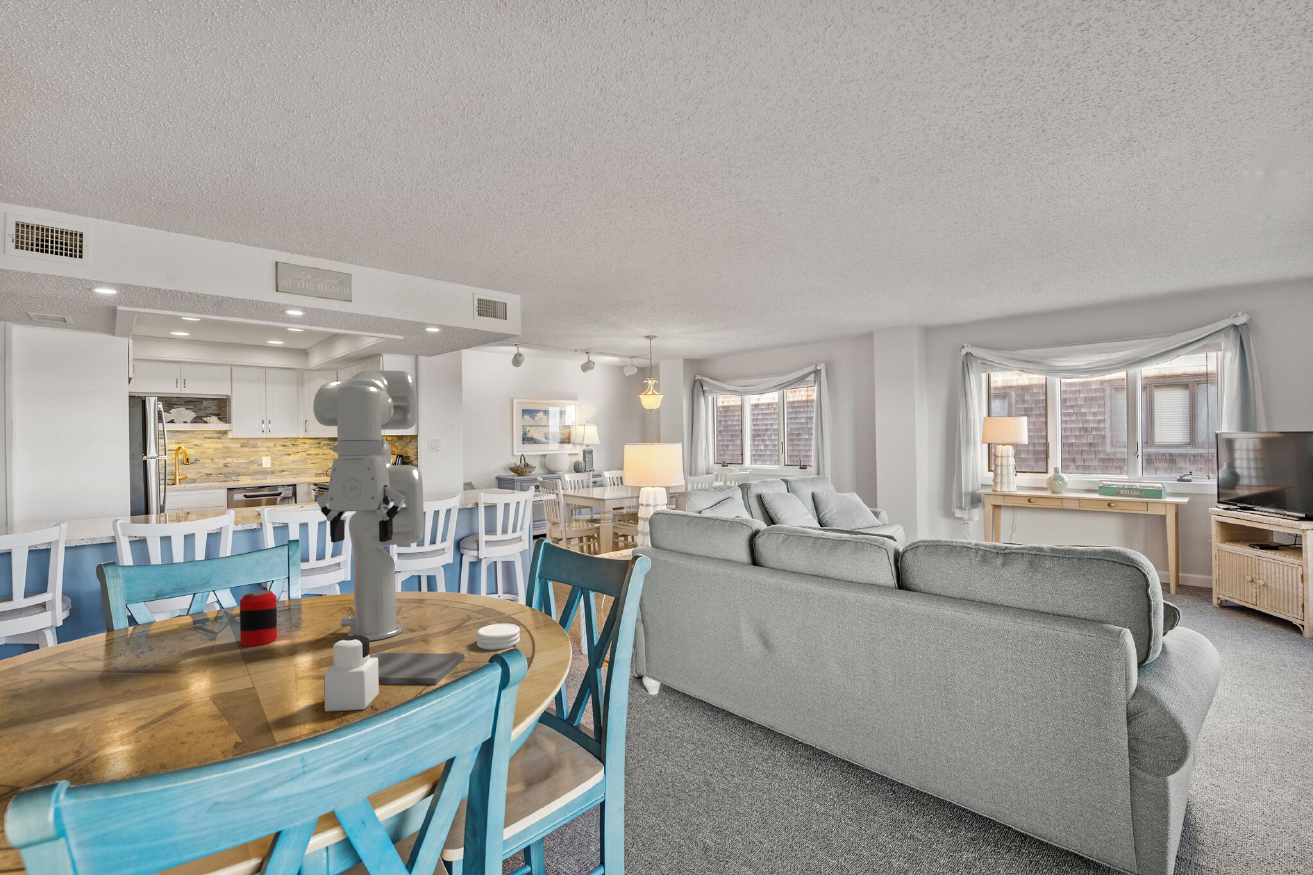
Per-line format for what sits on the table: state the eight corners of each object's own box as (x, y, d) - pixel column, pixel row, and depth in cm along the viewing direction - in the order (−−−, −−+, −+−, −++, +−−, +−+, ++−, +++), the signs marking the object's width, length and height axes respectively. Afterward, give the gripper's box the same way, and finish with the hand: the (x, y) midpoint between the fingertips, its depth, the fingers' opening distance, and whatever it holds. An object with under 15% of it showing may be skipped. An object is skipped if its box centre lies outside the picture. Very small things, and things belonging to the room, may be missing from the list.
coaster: (508, 651, 141) (508, 636, 141) (469, 649, 143) (468, 634, 143) (526, 637, 151) (526, 623, 151) (489, 636, 153) (488, 621, 153)
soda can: (233, 645, 149) (232, 595, 149) (263, 635, 156) (262, 588, 156) (254, 648, 146) (253, 598, 146) (284, 638, 153) (283, 590, 153)
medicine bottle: (340, 695, 118) (339, 633, 118) (379, 693, 119) (378, 631, 119) (323, 712, 111) (322, 645, 111) (365, 710, 111) (363, 643, 111)
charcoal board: (340, 682, 124) (340, 676, 124) (377, 657, 138) (377, 652, 138) (436, 684, 123) (436, 678, 123) (464, 658, 137) (464, 653, 137)
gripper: (304, 452, 114) (305, 544, 114) (392, 449, 112) (393, 544, 112) (330, 451, 122) (331, 538, 121) (413, 449, 120) (414, 537, 119)
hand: (361, 541), depth 117 cm, fingers open, 9 cm apart
